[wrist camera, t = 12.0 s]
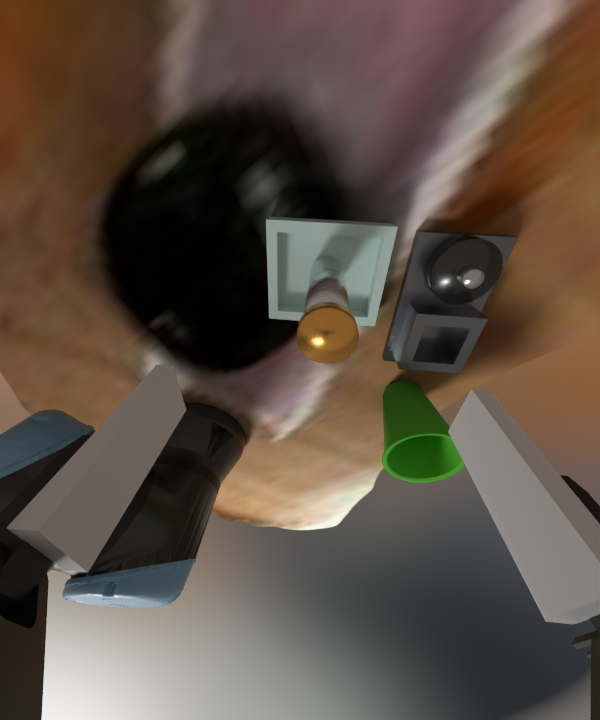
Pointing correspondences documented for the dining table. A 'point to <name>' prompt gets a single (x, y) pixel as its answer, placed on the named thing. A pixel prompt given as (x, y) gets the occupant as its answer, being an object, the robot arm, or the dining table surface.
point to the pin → (327, 315)
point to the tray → (327, 238)
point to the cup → (416, 436)
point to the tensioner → (444, 299)
